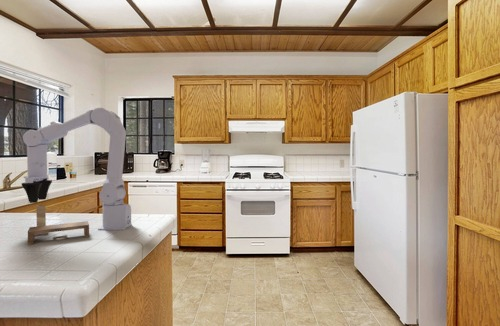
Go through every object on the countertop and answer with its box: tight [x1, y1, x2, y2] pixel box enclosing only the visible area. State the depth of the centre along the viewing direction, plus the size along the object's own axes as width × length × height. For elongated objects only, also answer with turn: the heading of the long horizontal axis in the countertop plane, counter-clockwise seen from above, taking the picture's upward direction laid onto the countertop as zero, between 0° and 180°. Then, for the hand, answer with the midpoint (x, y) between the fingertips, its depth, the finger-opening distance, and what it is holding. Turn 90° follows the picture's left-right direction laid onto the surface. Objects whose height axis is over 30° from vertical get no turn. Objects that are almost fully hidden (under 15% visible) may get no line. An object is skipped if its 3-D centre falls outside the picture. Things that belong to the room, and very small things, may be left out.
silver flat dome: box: [52, 234, 69, 241], centre depth 92 cm, size 4×4×1 cm
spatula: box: [35, 204, 49, 237], centre depth 100 cm, size 12×5×9 cm, turn 33°
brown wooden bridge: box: [27, 220, 90, 246], centre depth 92 cm, size 16×6×4 cm, turn 123°
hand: (38, 201), depth 104 cm, fingers open, 7 cm apart
